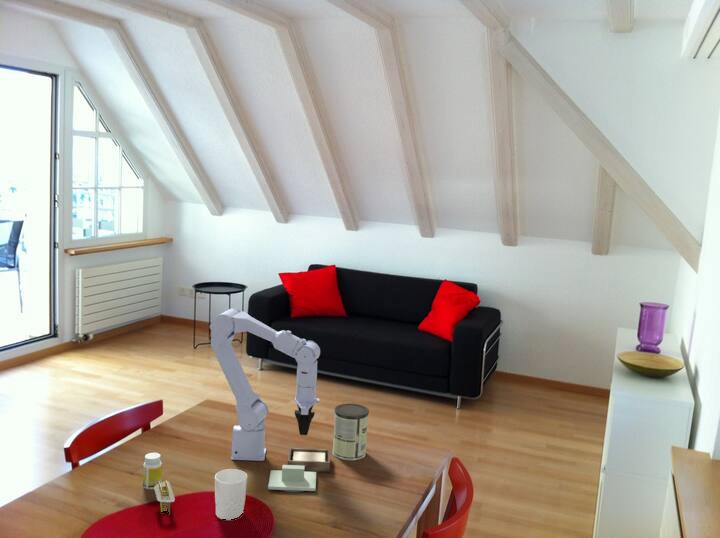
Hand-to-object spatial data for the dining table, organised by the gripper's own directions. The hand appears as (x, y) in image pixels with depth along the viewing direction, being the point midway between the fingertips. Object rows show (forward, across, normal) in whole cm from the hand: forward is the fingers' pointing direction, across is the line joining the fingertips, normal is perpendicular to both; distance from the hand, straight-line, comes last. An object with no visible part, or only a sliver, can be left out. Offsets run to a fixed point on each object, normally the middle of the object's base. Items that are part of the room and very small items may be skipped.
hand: (303, 429), depth 204 cm
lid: (+10, -13, +2) cm, 16 cm away
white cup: (+11, -30, +17) cm, 36 cm away
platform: (+11, -28, +34) cm, 45 cm away
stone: (+10, -13, +2) cm, 17 cm away
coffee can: (+11, +8, -14) cm, 19 cm away
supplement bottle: (+11, -17, +39) cm, 44 cm away
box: (+10, -1, -2) cm, 11 cm away
